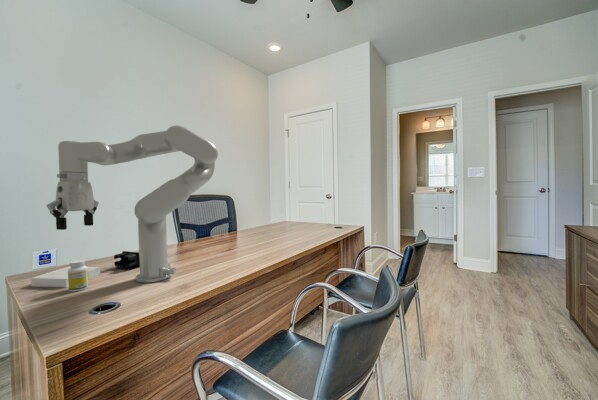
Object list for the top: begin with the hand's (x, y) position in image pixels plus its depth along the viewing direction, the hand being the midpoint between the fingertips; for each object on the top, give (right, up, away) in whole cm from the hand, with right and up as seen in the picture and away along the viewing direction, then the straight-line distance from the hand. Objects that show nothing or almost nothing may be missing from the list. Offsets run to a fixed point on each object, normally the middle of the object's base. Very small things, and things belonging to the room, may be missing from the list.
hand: (75, 227), depth 92 cm
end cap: (+3, -21, +25) cm, 33 cm away
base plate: (-11, -21, +10) cm, 26 cm away
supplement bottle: (+1, -22, 0) cm, 22 cm away
